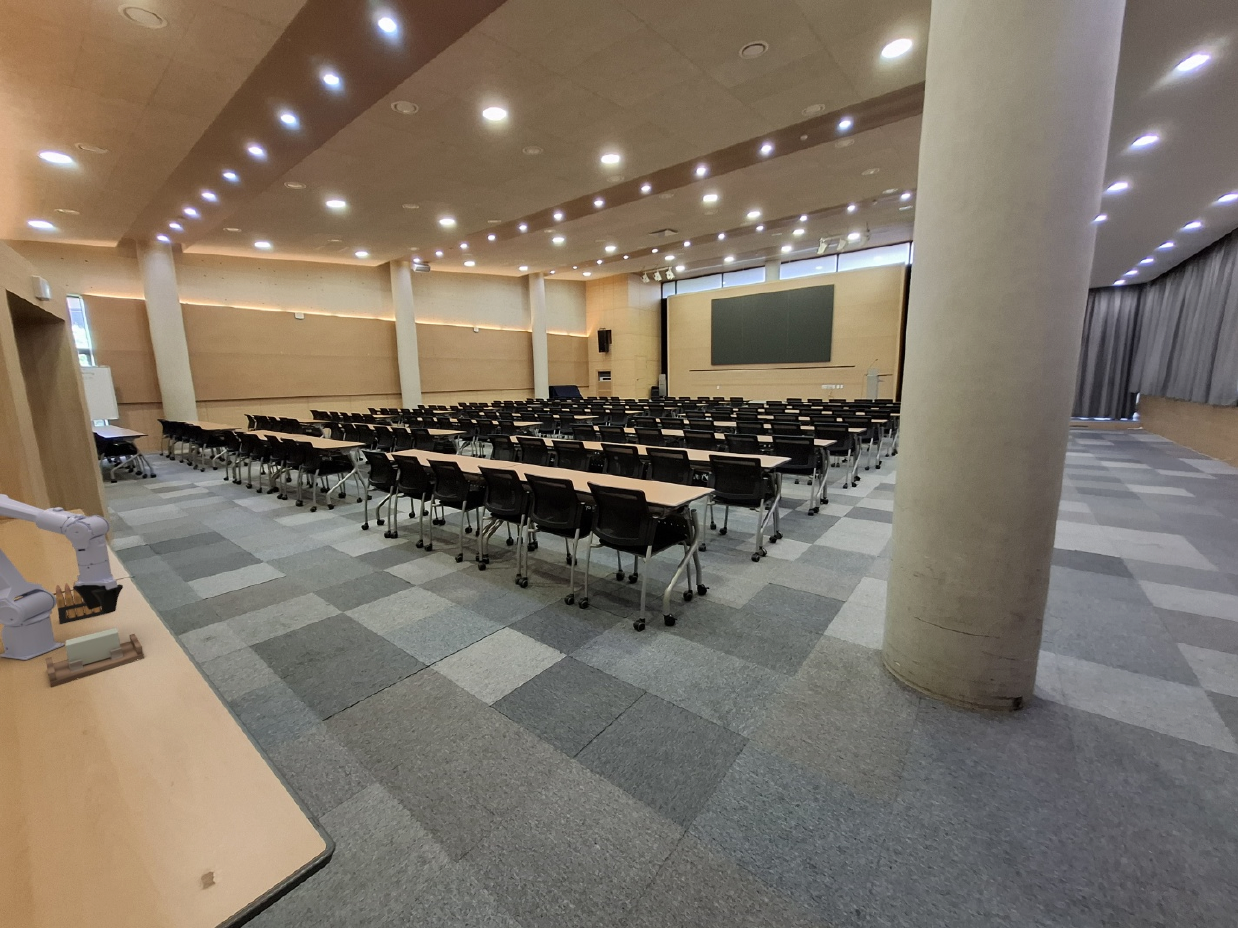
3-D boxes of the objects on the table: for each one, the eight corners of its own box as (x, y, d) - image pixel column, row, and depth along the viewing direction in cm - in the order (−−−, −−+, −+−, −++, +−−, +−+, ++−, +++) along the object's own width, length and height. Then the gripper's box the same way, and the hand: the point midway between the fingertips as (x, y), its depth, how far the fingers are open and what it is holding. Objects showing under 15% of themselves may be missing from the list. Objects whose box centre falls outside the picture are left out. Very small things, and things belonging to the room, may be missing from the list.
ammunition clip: (59, 624, 147) (52, 586, 146) (60, 622, 149) (53, 584, 147) (110, 613, 155) (104, 576, 153) (110, 611, 156) (104, 575, 154)
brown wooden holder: (47, 669, 123) (45, 656, 122) (135, 643, 135) (133, 631, 135) (51, 687, 116) (48, 673, 115) (144, 658, 128) (142, 645, 128)
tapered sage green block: (70, 662, 123) (65, 640, 123) (120, 648, 130) (117, 627, 129) (69, 668, 121) (65, 645, 120) (121, 654, 127) (117, 632, 126)
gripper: (58, 563, 130) (67, 612, 132) (88, 570, 125) (96, 620, 127) (94, 555, 136) (102, 601, 138) (123, 561, 131) (131, 609, 133)
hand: (102, 610), depth 133 cm, fingers open, 7 cm apart
